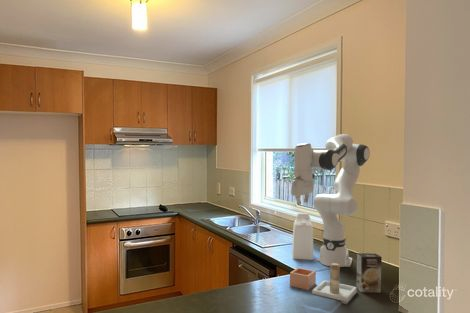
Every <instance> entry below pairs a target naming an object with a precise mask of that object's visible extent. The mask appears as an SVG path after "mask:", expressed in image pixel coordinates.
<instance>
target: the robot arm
mask: <svg viewBox="0 0 470 313" xmlns="http://www.w3.org/2000/svg"><path fill="white" fill-rule="evenodd" d="M293 155H294V156H293V157H294V158H293V163H294V166H293V180H292V181H291V187H290V188H291V192H290V193H291V196H292V197H294V198H295V201H296V205H298V206H301V205H302V201H301V197H302V196H304V198H303V202H304V203H309V198H310V194H313V193H314V187H315V180H314V179H315V178H316V175H315V174H314V173H313V169H314V170H324V171H326V170H327V171H332V170H334V169H335V168H336V167H337V165H338V163H339V162H344V165H342V167H341V168H340V170H339V172H338V174H337V176H336V178H335V179H334V182H333V188H334V190H335V191H336V192H337V193H335V194H334V193H319V194H316V195H315V197H313V198H314V199H313V203H312V204H313V207H314V209H315V210H316V211H317V212H318V214H319V215H320V218H321V220H322V222H323V238H322V245H321V246H320V248H319V249H320V250H319V251H320V252H319V258H317V259H316V261H317V262H320V264H322V265H324V266H326V267H327V266H328V267H330V264H332V263H335V264H339V265H340V268H342V267H343V268H344V267H348V268H349V267H352V266H351V265H352V262H353V257H349V249H348V248H347V246H346V240H347V239H346V237H345V224H344V223H343V222H342V221H340V220H339V218H338V217H337V215H338V216H353V215H354V214H355V213H356V212H357V210H358V203H357V200H356V198H354V196H353V191H354V188H355V185H356V184H357V181H358V179H359V175H360V170H361V168H360V167H361V166H363V165H365V164H366V162H367V161H368V160H369V158H370V148H369V146H367V145H365V144H358V143H354V140H353V137H352V136H351V135H349V134H347V133H342V134H341V133H340V134H337V135H335V136H332V137H331V138H329V139H328V140H326V142H325V149H314V148H313V147H312V144H311V143H310V142H303V143H298V144H296V145H295V148H294V153H293Z"/></svg>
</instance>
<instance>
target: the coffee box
mask: <svg viewBox="0 0 470 313" xmlns="http://www.w3.org/2000/svg"><path fill="white" fill-rule="evenodd" d="M356 256H357V257H356V276H355V277H356V281H355V282H356V283H355V287H357V291H359V292H360V293H381V291H382V290H381V288H382V286H381V285H382V261H383V260H382V256H381V255H379V254H377V253H371V252H370V253H365V252H363V253H362V252H357V253H356Z"/></svg>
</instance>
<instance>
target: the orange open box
mask: <svg viewBox="0 0 470 313" xmlns="http://www.w3.org/2000/svg"><path fill="white" fill-rule="evenodd" d="M316 272H317V271H316V270H311V269H306V268H303V267H297V268H295V269H294V270H292V271H290V272H289V287H293V288H299V289H302V290H305V291H306V290H307V291H309V290H310V289H311V288H312V287H314V286H315V285H316V284H317V283H316V282H317V281H316V280H317V276H316V275H317V273H316Z"/></svg>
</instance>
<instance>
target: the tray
mask: <svg viewBox="0 0 470 313" xmlns="http://www.w3.org/2000/svg"><path fill="white" fill-rule="evenodd" d="M357 292H358V289H357V287H356V286H353V285H348V284H343V283H340V282H339V293H338V294H334V293H331V292H330V280H325V279H324V280H323V281H321V282H320V283H319V284H318V285H317V286H315V287H314V288H312V290H311V294H313V295H316V296H321V297H325V298H329V299H333V300H338V301H339V303H341V304H345V305H348V303H349V302H350V301H351V300H352V299H353V297H354V296H355V295H356V294H357Z"/></svg>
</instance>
